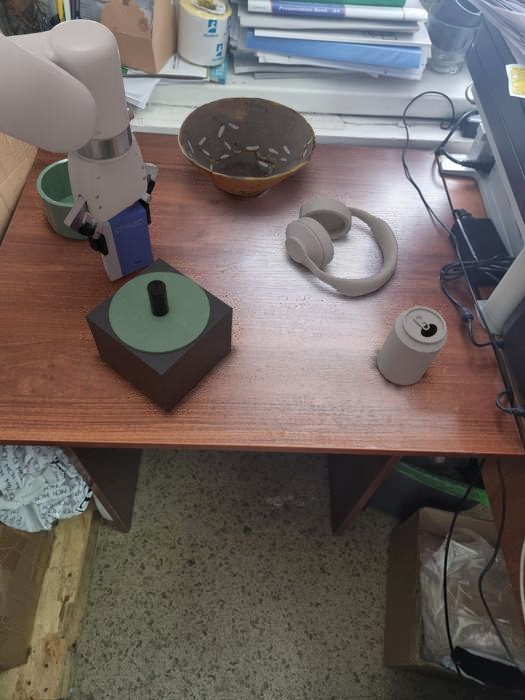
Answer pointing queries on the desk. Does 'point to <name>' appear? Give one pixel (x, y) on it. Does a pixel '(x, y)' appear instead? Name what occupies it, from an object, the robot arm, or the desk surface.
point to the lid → (159, 312)
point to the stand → (167, 368)
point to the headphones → (332, 223)
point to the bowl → (246, 143)
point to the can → (412, 345)
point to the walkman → (127, 242)
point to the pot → (57, 197)
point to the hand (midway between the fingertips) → (122, 234)
